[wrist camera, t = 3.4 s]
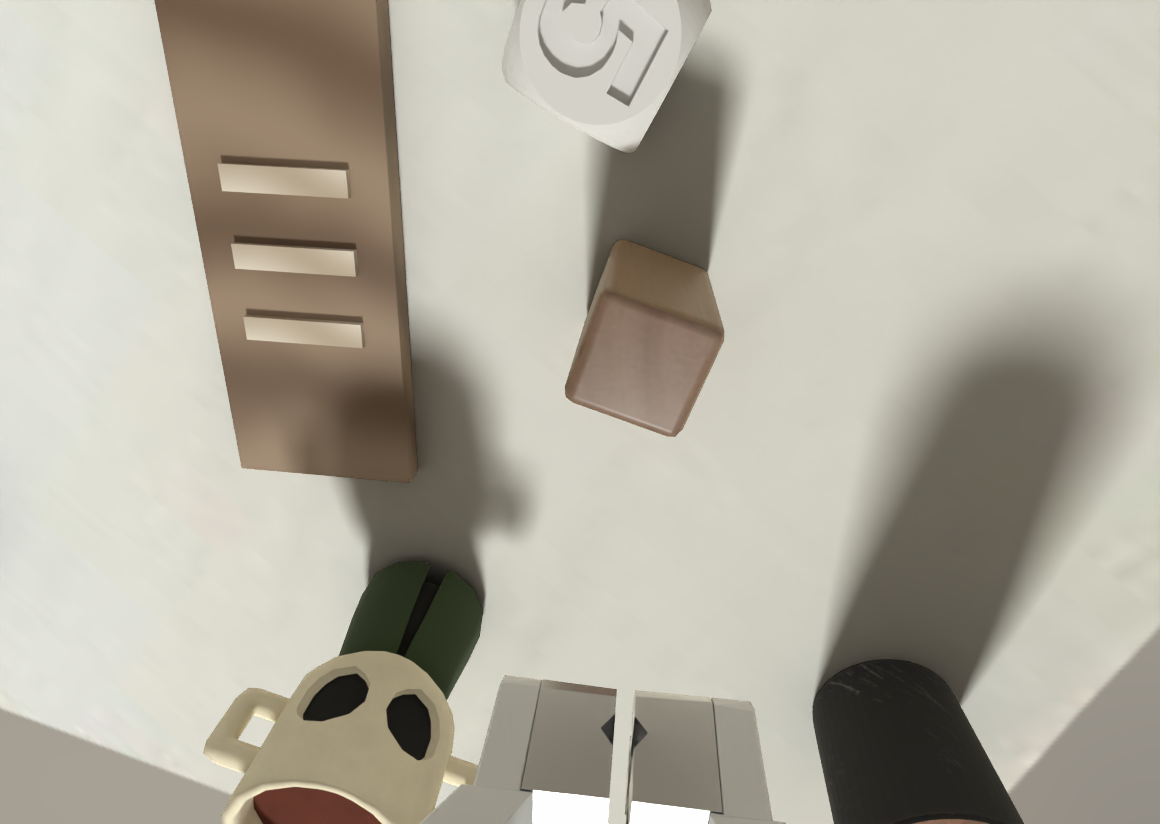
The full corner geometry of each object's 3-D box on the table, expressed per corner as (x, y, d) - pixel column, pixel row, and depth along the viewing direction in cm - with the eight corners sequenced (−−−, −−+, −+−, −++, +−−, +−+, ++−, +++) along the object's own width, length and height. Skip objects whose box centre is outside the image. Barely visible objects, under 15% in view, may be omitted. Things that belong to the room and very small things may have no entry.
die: (635, 149, 26) (630, 161, 22) (516, 79, 26) (487, 76, 21) (708, 14, 24) (720, -4, 20) (581, -66, 23) (564, -104, 19)
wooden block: (583, 325, 29) (559, 402, 22) (616, 234, 27) (602, 285, 20) (672, 358, 29) (678, 445, 22) (710, 269, 28) (730, 332, 20)
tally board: (417, 470, 33) (407, 486, 31) (255, 455, 33) (238, 471, 32) (386, -27, 24) (370, -34, 23) (169, -34, 25) (141, -41, 24)
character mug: (547, 590, 35) (492, 841, 23) (503, 684, 38) (435, 949, 26) (341, 513, 34) (178, 732, 23) (313, 616, 37) (156, 856, 26)
